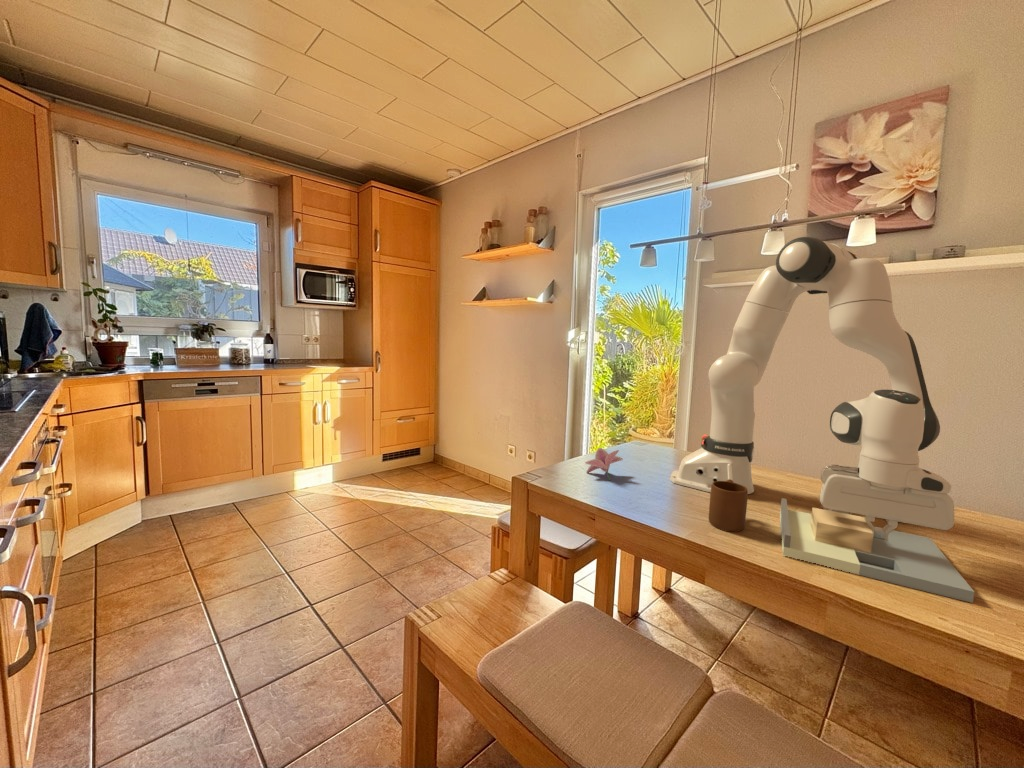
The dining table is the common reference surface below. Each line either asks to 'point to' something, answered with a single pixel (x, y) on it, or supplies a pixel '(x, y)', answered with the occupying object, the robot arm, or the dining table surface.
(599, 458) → the lily
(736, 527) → the mug
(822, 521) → the maple block
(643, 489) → the dining table surface
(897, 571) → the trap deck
